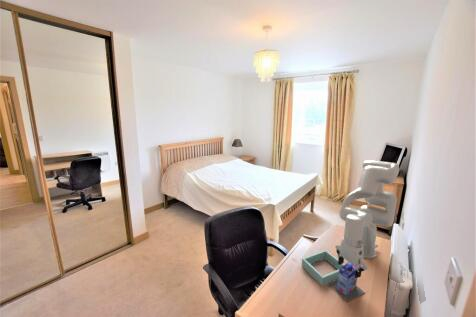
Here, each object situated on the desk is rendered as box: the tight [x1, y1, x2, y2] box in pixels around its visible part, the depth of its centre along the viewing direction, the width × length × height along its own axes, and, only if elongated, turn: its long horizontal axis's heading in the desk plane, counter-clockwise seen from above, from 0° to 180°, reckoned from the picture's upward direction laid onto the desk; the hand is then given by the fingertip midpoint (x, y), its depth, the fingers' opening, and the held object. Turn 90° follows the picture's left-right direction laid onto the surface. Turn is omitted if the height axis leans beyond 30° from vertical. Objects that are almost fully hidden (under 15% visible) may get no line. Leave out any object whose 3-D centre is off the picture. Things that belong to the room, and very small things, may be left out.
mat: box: [328, 280, 366, 303], centre depth 107 cm, size 12×11×1 cm
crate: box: [301, 249, 345, 286], centre depth 119 cm, size 18×16×5 cm
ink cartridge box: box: [337, 261, 359, 295], centre depth 106 cm, size 10×6×14 cm, turn 125°
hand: (348, 270), depth 105 cm, fingers open, 9 cm apart
